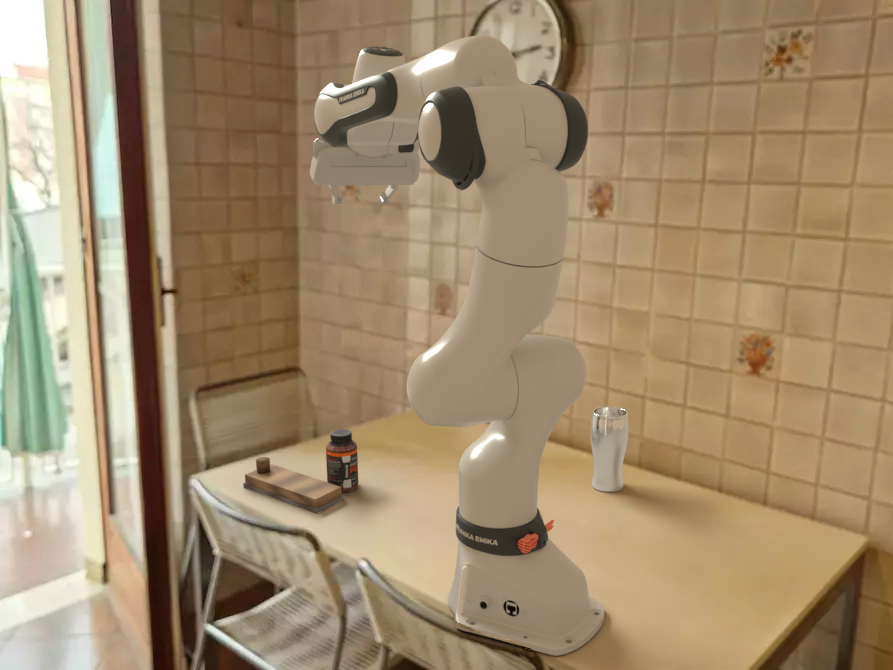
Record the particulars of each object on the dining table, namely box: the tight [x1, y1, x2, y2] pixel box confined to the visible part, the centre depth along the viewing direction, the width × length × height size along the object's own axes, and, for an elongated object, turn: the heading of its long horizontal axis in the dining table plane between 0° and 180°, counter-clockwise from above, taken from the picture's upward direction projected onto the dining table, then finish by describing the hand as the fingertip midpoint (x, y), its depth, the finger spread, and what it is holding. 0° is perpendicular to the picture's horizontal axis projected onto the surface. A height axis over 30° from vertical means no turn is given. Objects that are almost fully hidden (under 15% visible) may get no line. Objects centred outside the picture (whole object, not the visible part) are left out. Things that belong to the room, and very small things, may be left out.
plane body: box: [242, 456, 345, 514], centre depth 157 cm, size 20×7×5 cm, turn 53°
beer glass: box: [590, 405, 629, 493], centre depth 158 cm, size 7×7×15 cm
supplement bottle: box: [325, 428, 359, 494], centre depth 159 cm, size 6×6×11 cm
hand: (360, 202), depth 157 cm, fingers open, 8 cm apart
